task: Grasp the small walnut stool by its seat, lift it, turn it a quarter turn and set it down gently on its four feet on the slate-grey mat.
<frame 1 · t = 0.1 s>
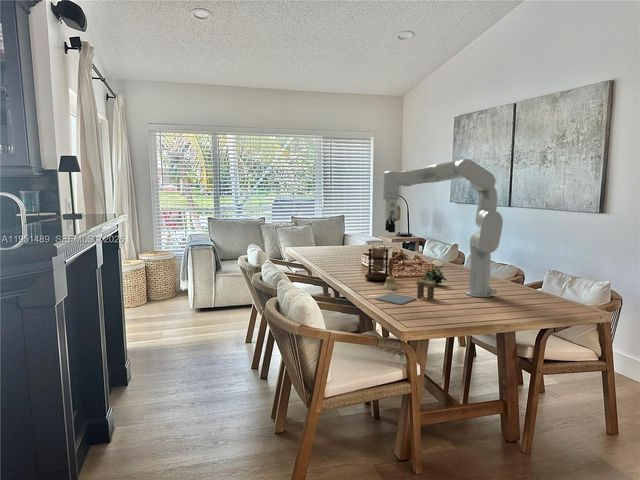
hand: (390, 231, 206), 31 cm above the table, tool pointing down, fingers open, 9 cm apart
hand bell: (390, 288, 221), on the table
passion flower: (433, 285, 228), on the table
slate mat: (395, 299, 197), on the table
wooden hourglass: (377, 280, 241), on the table
walnut stool: (425, 298, 200), on the table
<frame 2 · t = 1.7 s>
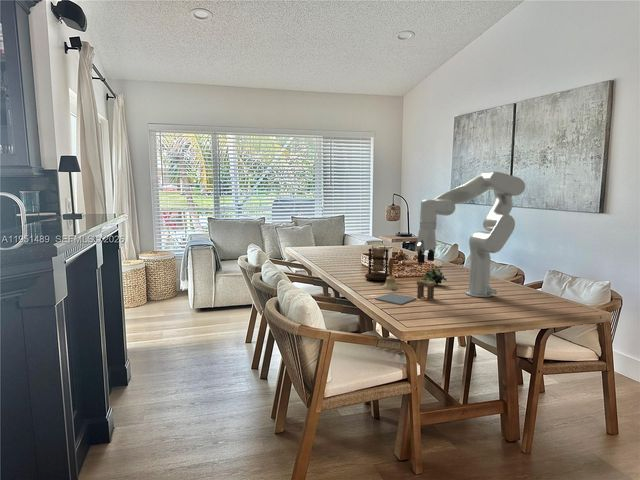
hand: (425, 261, 198), 18 cm above the table, tool pointing down, fingers open, 9 cm apart
nothing on the table moved.
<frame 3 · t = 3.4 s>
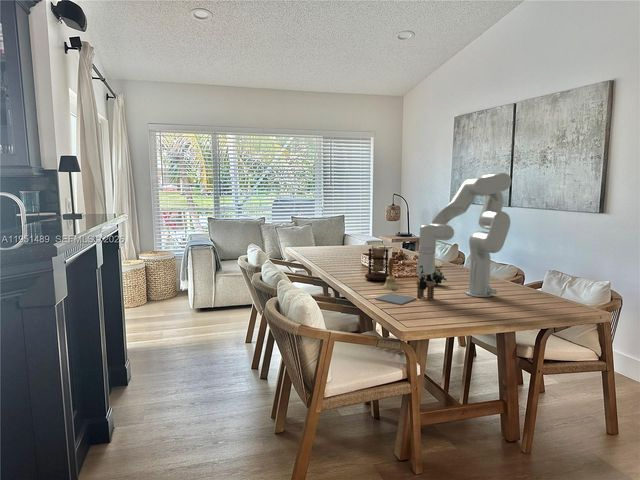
hand: (425, 288, 200), 5 cm above the table, tool pointing down, fingers closed on walnut stool, 5 cm apart
walnut stool: (425, 298, 200), on the table, touching gripper
everything else where it was.
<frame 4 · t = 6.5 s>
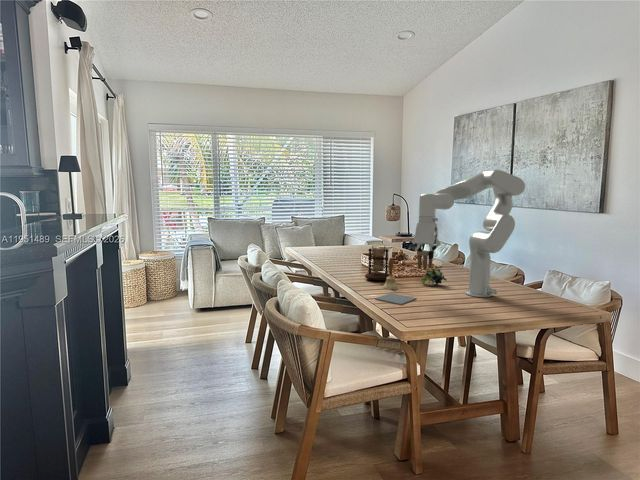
hand: (425, 258, 198), 20 cm above the table, tool pointing down, fingers closed on walnut stool, 5 cm apart
walnut stool: (424, 268, 198), point 15 cm above the table, touching gripper
everything else where it was.
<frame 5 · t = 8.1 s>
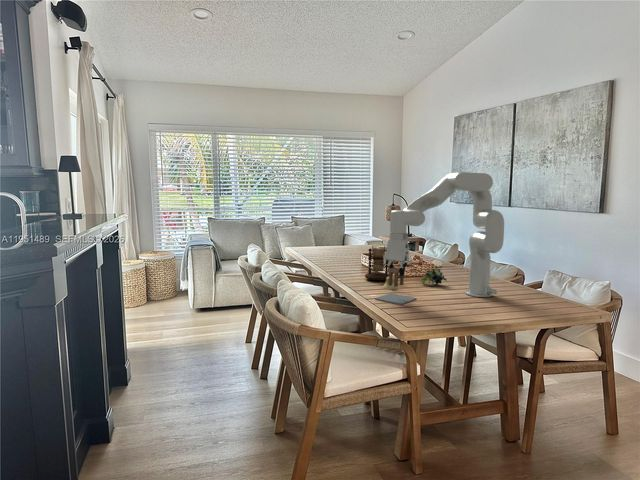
hand: (396, 274, 196), 12 cm above the table, tool pointing down, fingers closed on walnut stool, 5 cm apart
walnut stool: (396, 285, 196), point 7 cm above the table, touching gripper
everything else where it was.
when the fingers open (7 cm above the table, at t = 9.5 s): walnut stool drops 2 cm, resting on slate mat.
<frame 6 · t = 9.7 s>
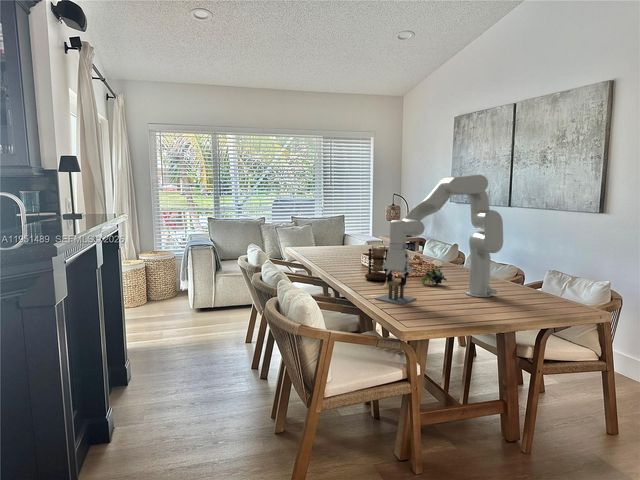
hand: (396, 283, 196), 7 cm above the table, tool pointing down, fingers open, 6 cm apart
walnut stool: (396, 298, 197), point 1 cm above the table, touching slate mat
everything else where it was.
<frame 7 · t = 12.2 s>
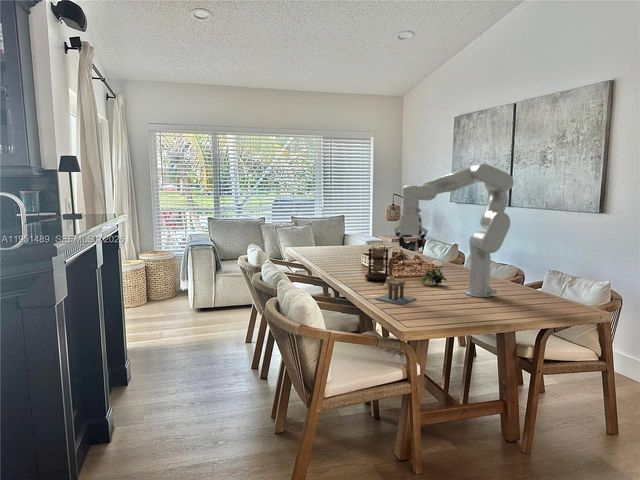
hand: (410, 247, 201), 24 cm above the table, tool pointing down, fingers open, 9 cm apart
nothing on the table moved.
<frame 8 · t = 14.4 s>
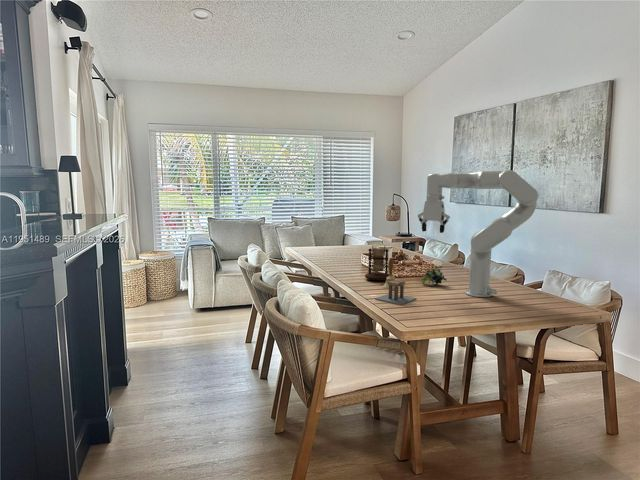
hand: (432, 232, 213), 30 cm above the table, tool pointing down, fingers open, 9 cm apart
nothing on the table moved.
at the end: walnut stool inside the target area on the slate mat (0.1 cm from its centre), point 0.6 cm above the slate mat's base; walnut stool tilted 0°; the gripper is holding nothing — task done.
